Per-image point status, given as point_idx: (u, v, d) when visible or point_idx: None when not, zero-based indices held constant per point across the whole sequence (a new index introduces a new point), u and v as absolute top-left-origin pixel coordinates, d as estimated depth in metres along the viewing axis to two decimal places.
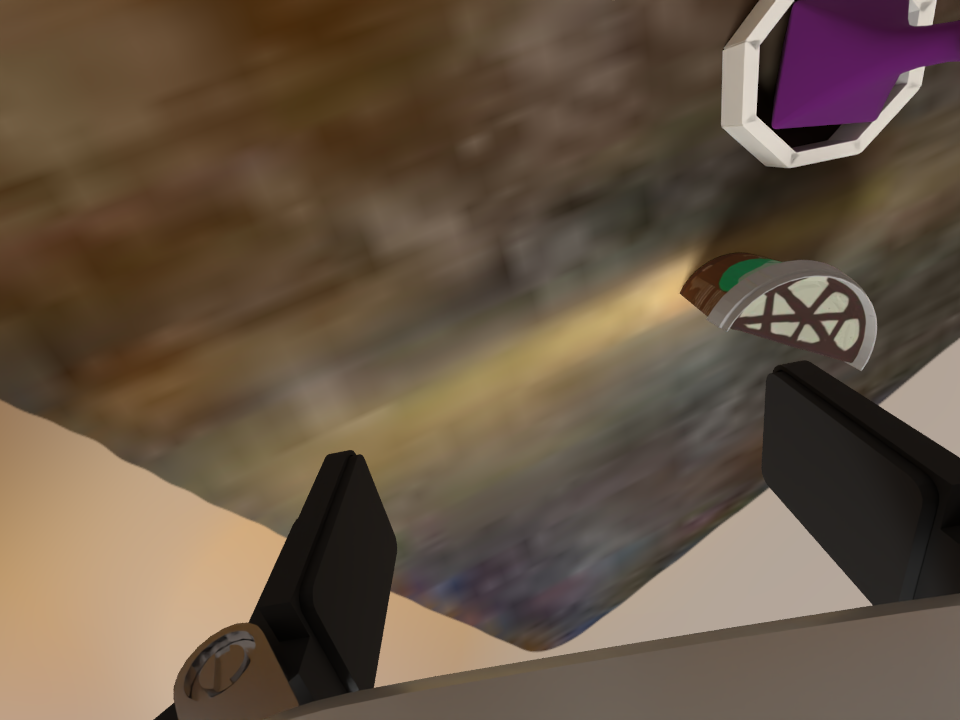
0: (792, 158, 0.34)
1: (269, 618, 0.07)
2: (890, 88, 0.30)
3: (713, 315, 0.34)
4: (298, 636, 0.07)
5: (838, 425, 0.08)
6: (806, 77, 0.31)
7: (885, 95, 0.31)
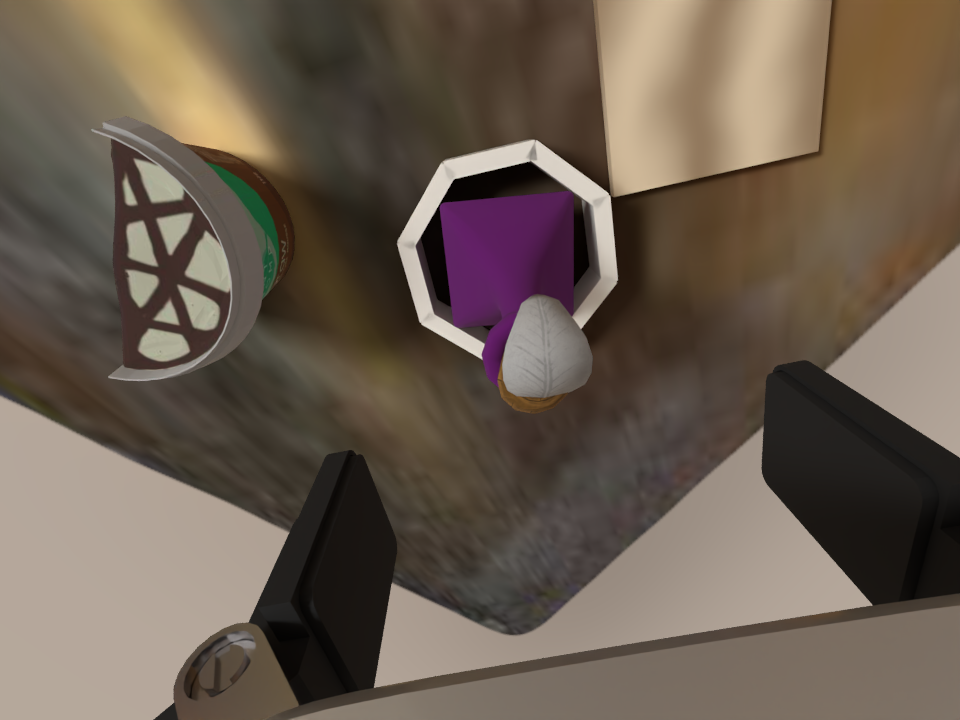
0: (408, 243, 0.27)
1: (269, 618, 0.07)
2: (483, 313, 0.26)
3: (132, 122, 0.19)
4: (298, 636, 0.07)
5: (838, 425, 0.08)
6: (495, 217, 0.25)
7: (476, 314, 0.26)
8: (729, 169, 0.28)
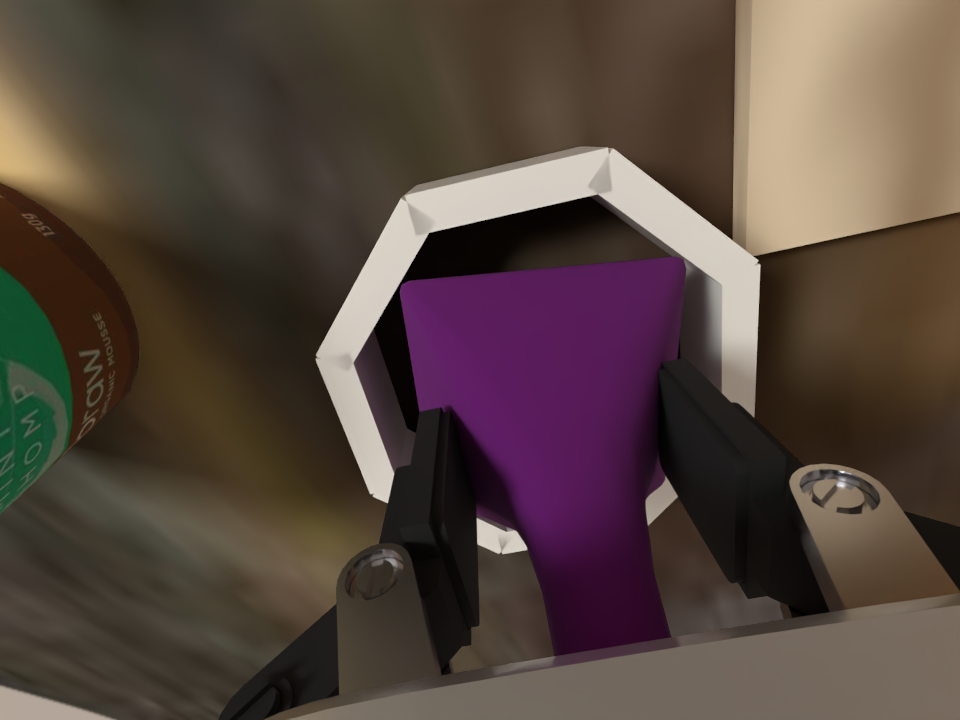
0: (338, 358, 0.13)
1: (407, 539, 0.08)
2: (493, 518, 0.12)
3: None
4: (430, 556, 0.08)
5: (691, 414, 0.09)
6: (520, 321, 0.11)
7: (479, 511, 0.13)
8: None
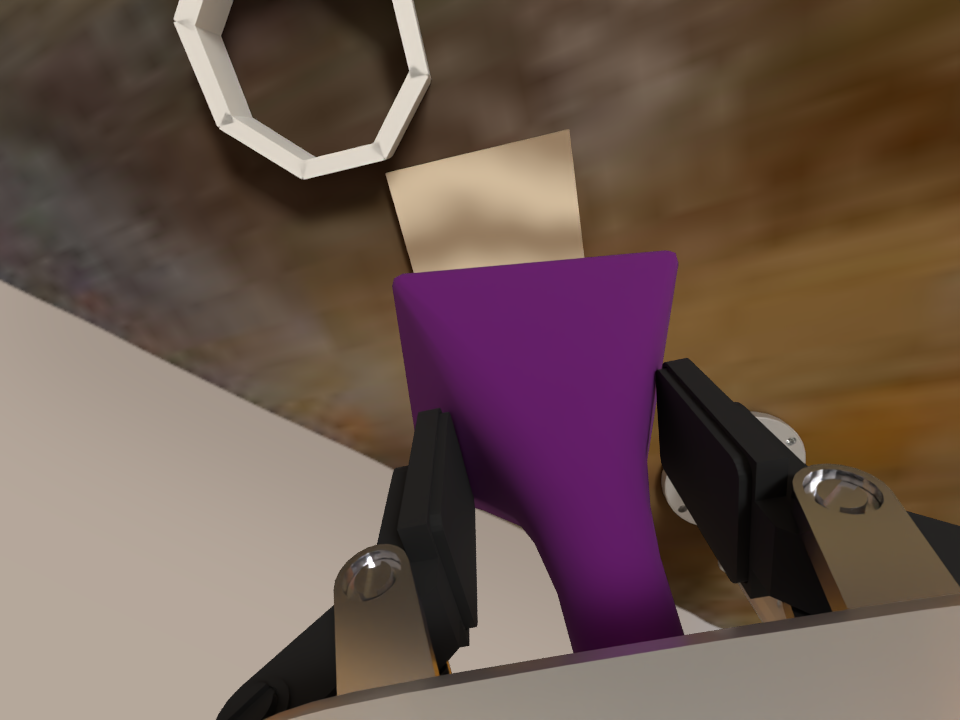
0: None
1: (405, 540, 0.08)
2: (491, 511, 0.12)
3: None
4: (428, 557, 0.08)
5: (693, 414, 0.09)
6: (521, 318, 0.11)
7: (475, 503, 0.13)
8: None
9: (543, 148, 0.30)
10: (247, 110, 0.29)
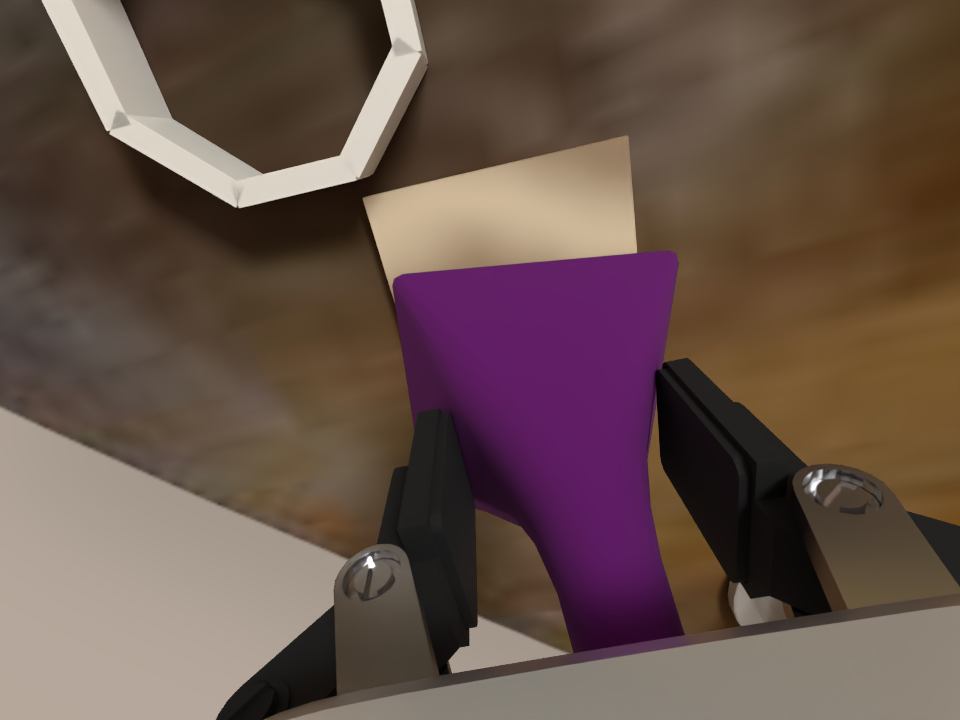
0: None
1: (404, 540, 0.08)
2: (491, 511, 0.12)
3: None
4: (428, 557, 0.08)
5: (693, 414, 0.09)
6: (521, 319, 0.11)
7: (475, 504, 0.13)
8: None
9: (590, 162, 0.21)
10: (163, 108, 0.20)
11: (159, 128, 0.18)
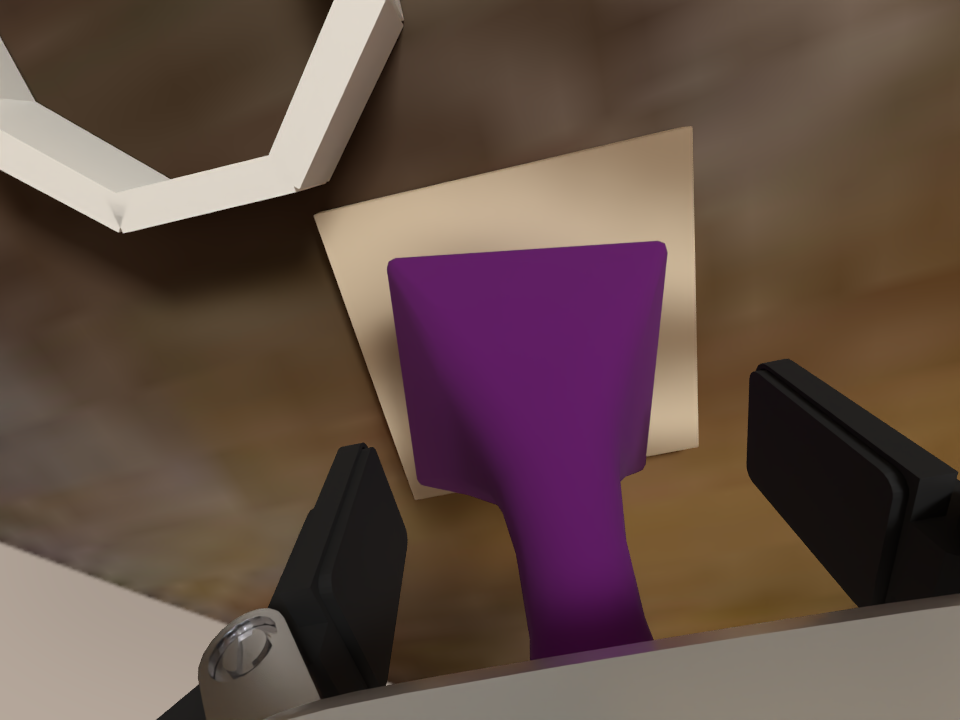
0: None
1: (289, 604, 0.07)
2: (473, 493, 0.12)
3: None
4: (317, 621, 0.07)
5: (815, 422, 0.08)
6: (504, 298, 0.11)
7: (460, 487, 0.13)
8: (380, 397, 0.18)
9: (637, 164, 0.14)
10: (17, 86, 0.14)
11: None
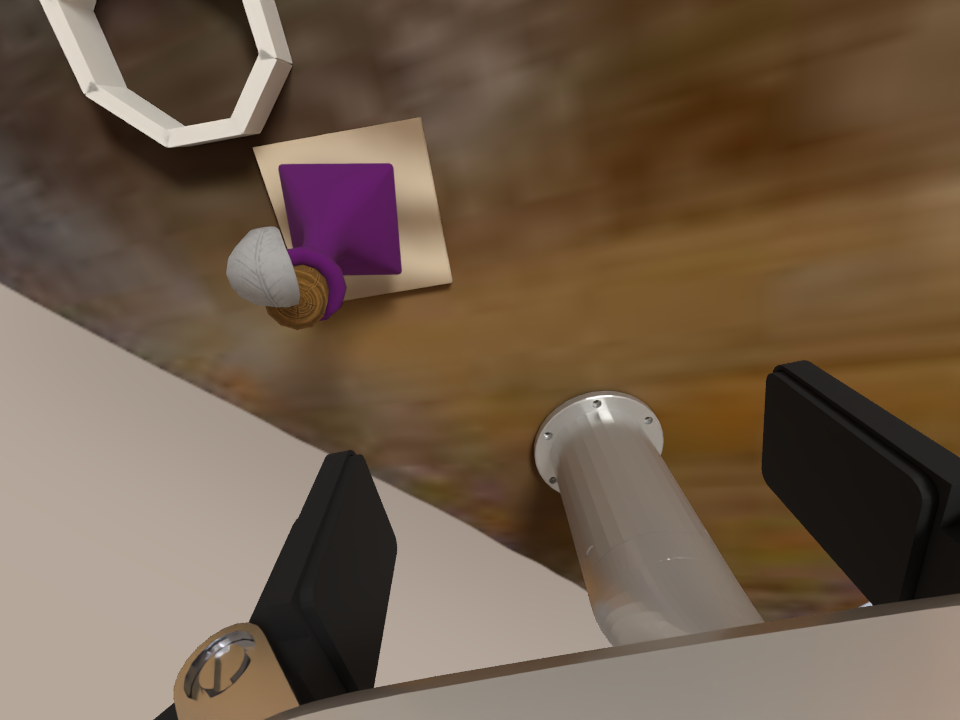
0: None
1: (269, 618, 0.07)
2: None
3: None
4: (298, 636, 0.07)
5: (838, 425, 0.08)
6: (320, 179, 0.29)
7: None
8: (287, 244, 0.36)
9: (398, 132, 0.33)
10: (121, 81, 0.31)
11: (117, 94, 0.30)
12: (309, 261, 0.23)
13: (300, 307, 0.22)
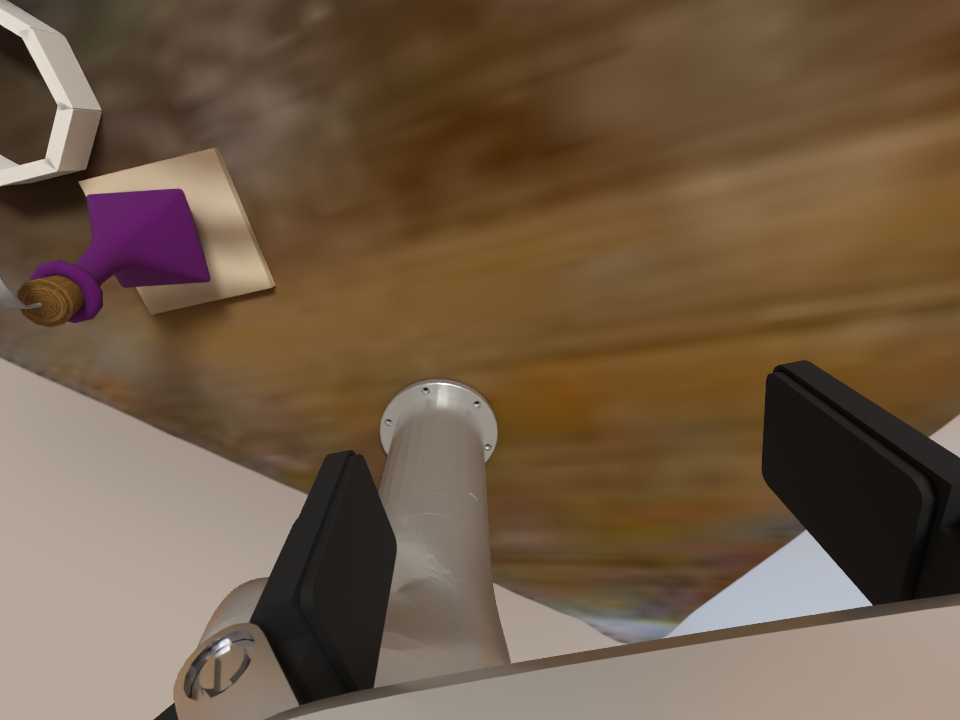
0: None
1: (269, 618, 0.07)
2: (115, 273, 0.36)
3: None
4: (298, 636, 0.07)
5: (838, 425, 0.08)
6: (115, 205, 0.35)
7: (116, 275, 0.37)
8: None
9: (197, 162, 0.38)
10: None
11: None
12: (60, 272, 0.29)
13: (46, 309, 0.28)
